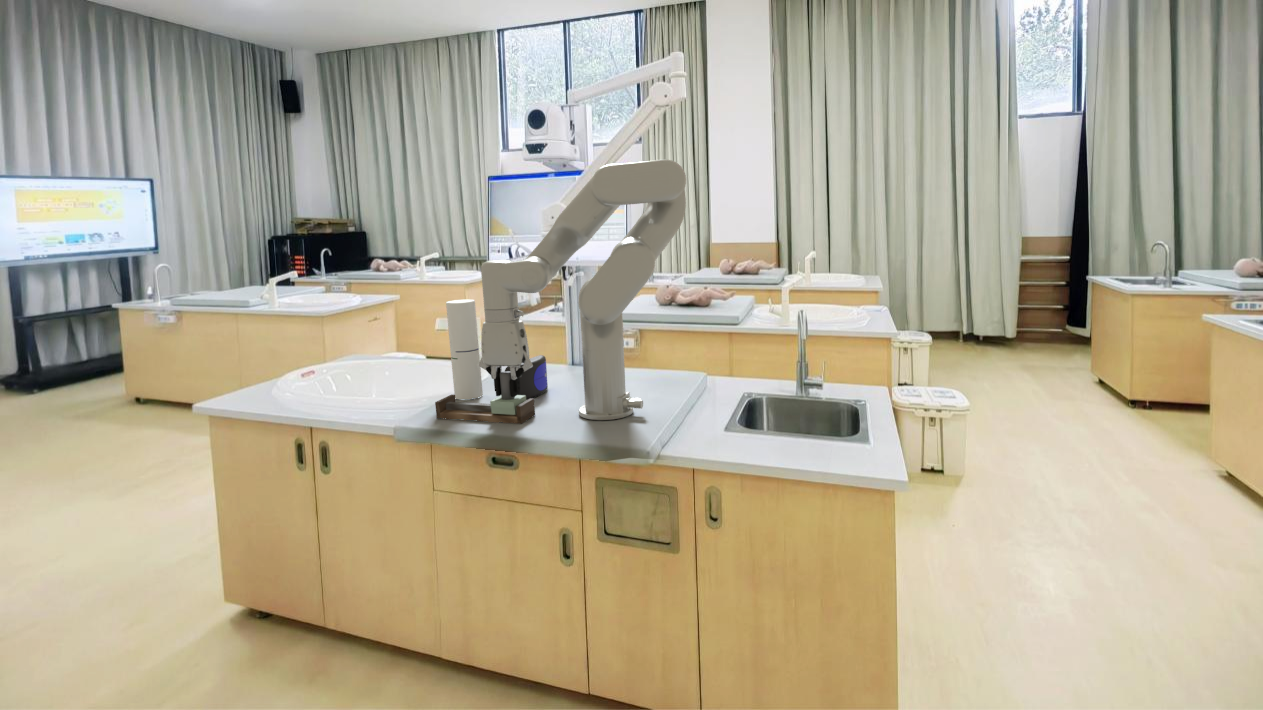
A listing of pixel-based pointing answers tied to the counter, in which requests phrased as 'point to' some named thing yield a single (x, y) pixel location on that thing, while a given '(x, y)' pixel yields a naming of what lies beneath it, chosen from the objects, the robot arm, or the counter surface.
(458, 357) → the cylindrical container
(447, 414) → the board
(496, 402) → the carriage
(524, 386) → the black curved block
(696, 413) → the counter surface
